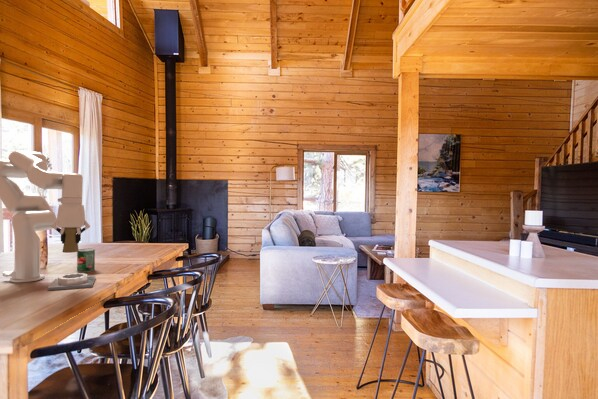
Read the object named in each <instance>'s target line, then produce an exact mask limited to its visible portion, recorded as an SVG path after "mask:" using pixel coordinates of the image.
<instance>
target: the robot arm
mask: <svg viewBox="0 0 598 399" xmlns="http://www.w3.org/2000/svg"><path fill="white" fill-rule="evenodd" d="M10 178H11V179H10ZM12 178H13V179H14V178H15V179H16V178H17V179H26V178H27V179H28V181H29V182H30V183H31V184H33V185H34V186H36V187H37V188H41V189H43V190H61V198H57V202H58V203H59V202H60V204H58V208H57V214H56V213H55V212H54V210H53V209H52V207H51V206H50V204H49V203H48V201H47V199H46V198H45V197H44V196H43V195H41V194H39V193H26V192H23V191H22V189H21V188H20V186H19V185H18V184H17V183H16V182H14V180H12ZM83 179H84V177H83V175H82V174H81V173H75V172H74V173H72V172H62V171H61V172H59V171H48V162H47V157H46V156H45V154H43V153H41V152H38V151H31V150H21V149H20V150H14V151H12V152H11V153H10V154H8V159H5V158H3V159H2V158H0V201H1V202H2V204H3V205H4V207H5V208H6V209H7V211H8V212H9V213H11V214H14V215H13V217H12V219H11V225H12V229H13V230H12V231H13V234H14V262H13V263H14V264H13V265H14V270H12V271H3V272H2V277H4V278H5V277H6V278H7V277H10V278H9V282H10V283H16V284H17V283H29V282H31V283H32V282H36V281H41V280H43V279H45V274H41V247H42V246H41V242H42V241H41V239H40V236H39V235H38V234H37V232H40V231H41V232H42V231H48V230H52V229H53V230H55V231H57V232H58V234H60V242H61V244H63V245H64V241H65V233H64V229H65V228H77V235H76V243H78V244H79V243H80V242H81V241H82V239H81V238H82V237H81V236H82V233H84V232H85V231H86V230H88V229H89V228H91V225H90V224H89V223H88V221H87V220H86V213H85V212H86V210H85V205H84V204H83V183H84V182H83V181H84V180H83Z"/></svg>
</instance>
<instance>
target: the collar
mask: <svg viewBox="0 0 598 399" xmlns="http://www.w3.org/2000/svg"><path fill="white" fill-rule="evenodd" d="M95 281H96V275H93V276H89V274H87V273H86V272H75V273H68V274H67V273H66V274H61V275H59V276H58V278H55V279H54V280H53V281H51V283H50V284H49V286H48V287H47V289H46V290H47V291H60V290H62V291H63V290H74V289H76V290H77V289H84V288H85V289H86V288H87V289H88V288H93V286H94V283H95Z"/></svg>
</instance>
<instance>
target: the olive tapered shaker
mask: <svg viewBox="0 0 598 399" xmlns="http://www.w3.org/2000/svg"><path fill="white" fill-rule="evenodd" d="M64 233H65V241H64V244H63V246H62V253H66V254H67V253H68V254H70V253H77V252H78V251H79V249H80V248H79V243H76V235H77V233H78V232H77V228H65V229H64Z"/></svg>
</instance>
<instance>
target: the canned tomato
mask: <svg viewBox="0 0 598 399" xmlns="http://www.w3.org/2000/svg"><path fill="white" fill-rule="evenodd" d="M78 249H79V251H78V252H76V254H77V255H76V257H77V258H76V259H77V261H76V273H91V272H94V271H95V265H96V264H95V263H96V261H95V260H96V258H95V256H96V255H95V254H96V253H95V252H96V251H95V250H96V249H95V248H78Z"/></svg>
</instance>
